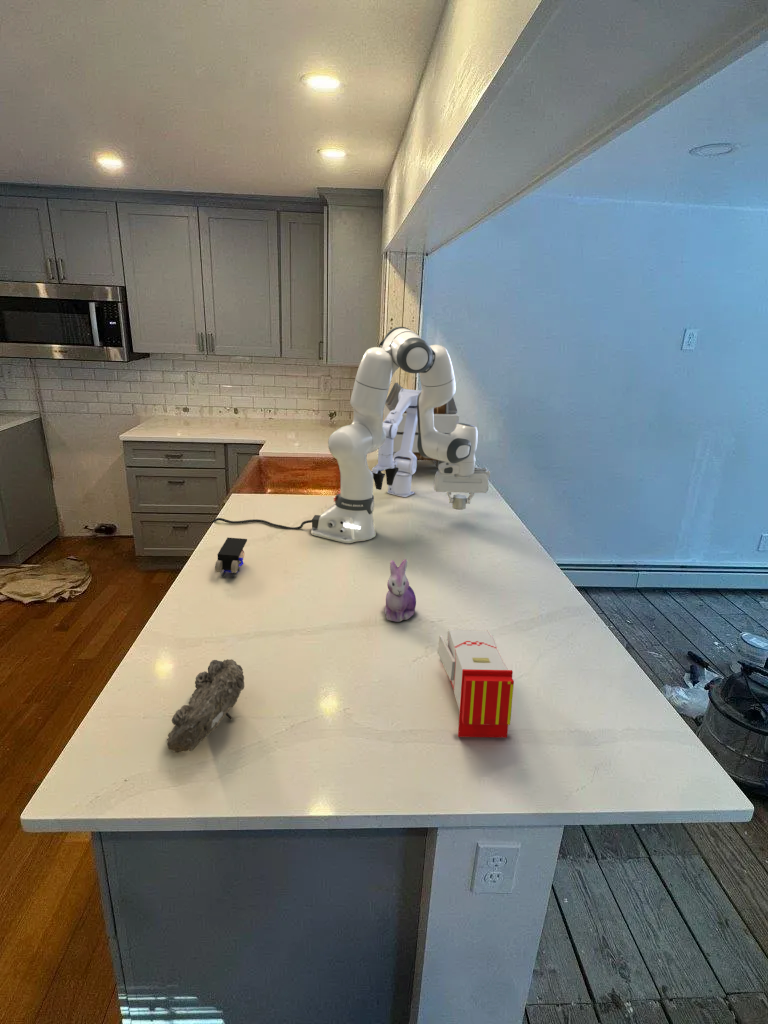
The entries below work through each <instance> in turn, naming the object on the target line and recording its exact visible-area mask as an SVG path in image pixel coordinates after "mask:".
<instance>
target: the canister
mask: <svg viewBox="0 0 768 1024" xmlns="http://www.w3.org/2000/svg"><path fill="white" fill-rule="evenodd" d="M452 498H453V499H454V501H453V503H451V507H452V509H454V510H461V511H462V510H465V509H466V508H467V504H466V499H467V498H468V496H466V495H465V494H459V493H458V494H457V493H456V494H453V496H452Z"/></svg>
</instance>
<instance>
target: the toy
mask: <svg viewBox="0 0 768 1024" xmlns="http://www.w3.org/2000/svg"><path fill="white" fill-rule="evenodd" d="M446 640H447V643H446V641H445V639H444V636H443V635H442V634H439V637H438V646H437V656H438V657H439V659H440V661H441V663H442V666H443V668H444V670H445V672H446V674H447V677H448V679H449V681H450V684H451V687H452V690H453V693H454V697H455V701H456V705H457V708H458V711H459V714H458V715H459V716H458V730H457V731H458V732H457V737H458V738H508V731H509V726H510V725H511V717H512V707H513V697H514V696H513V695H514V684H515V680H514V679H513V673H514V671H513V670H512V669H508V667H507V665H506V662H505V661H504V659H503V658H502V655H501V653H500V651H499V649H498V647H497V643H496V639H495V637H494V635H493V634H491V632H490V631H489V629H467V628H466V629H465V628H463V629H461V628H460V629H459V628H448V630H447V639H446Z"/></svg>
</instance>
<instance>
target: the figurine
mask: <svg viewBox="0 0 768 1024" xmlns="http://www.w3.org/2000/svg"><path fill="white" fill-rule="evenodd" d="M407 567H408V559H406V558H404V559H403V560H402V561H401V563H400V565H399V566H398V565H397V563H396V562H395V561H394V560H393V559H391V560H390V561H389V570H390V576H389V578H388V579H387V589H388V591H387V592H386V594H385V595H386V596H385V607H384V615H385V616H386V620H387V621H391V622H395V623H400V622H402V621H406V620H409V619H410V618H411V617H413V616H414V615H415V610H416V606H417V597H416V593H415V591H414V590H413V587H411V586H410V582H409V579H408V577H407V574H406V571H407Z"/></svg>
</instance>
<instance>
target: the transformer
mask: <svg viewBox="0 0 768 1024" xmlns="http://www.w3.org/2000/svg"><path fill="white" fill-rule="evenodd" d="M402 388H404V387H403V386H401V385H400V384H399V382H394V383H393V385H392V387H391V389H390V392H388V394H387V398H386V402H385V406H384V411H383V421H384V420H385V419H386V417H387V416H388V414H389V413H390V411H392V410H395V408H396V406H397V404H398V402H399V400H398V395H399V392H400V390H401V389H402ZM402 416H403V419H402V421H401V422H400V424H399V426H398V430H397V434H396V437H395V438H394V443H393V456H394V454H395V453H396V452H398V451H399V450H400V449H401V443H402V438H403V433H404V427H405V422H406V416H407V412H406V411H405V412H404V413H403V414H402ZM458 423H460V415H459V414H458V408H457V405H456V402H455V398H454V397H453V398H452V399H451V400H450V401H449V402H447V403H446V404H444V405H442V406H440V407H436V408H434V428H435V429H436V430H437V431H438V432H440V433H444V434H450V433H452V432H453V431H454V430H455V428H456V425H457V424H458ZM417 440H418V421H417V426H416V431H415V437H414V442H413V448H412V453H413V454H414V455H415V456H416V457H417V461H431V462H432V463H433V464H434V466H435V467H436V468H437V469H438V465H439V464H440V463H444V461H440V460H436V459H431V458H425V457H423V456H421V455H420V453H419V451H418V448H417ZM401 458H404V457H401ZM404 459H410V458H404ZM410 460H411V459H410Z"/></svg>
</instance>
